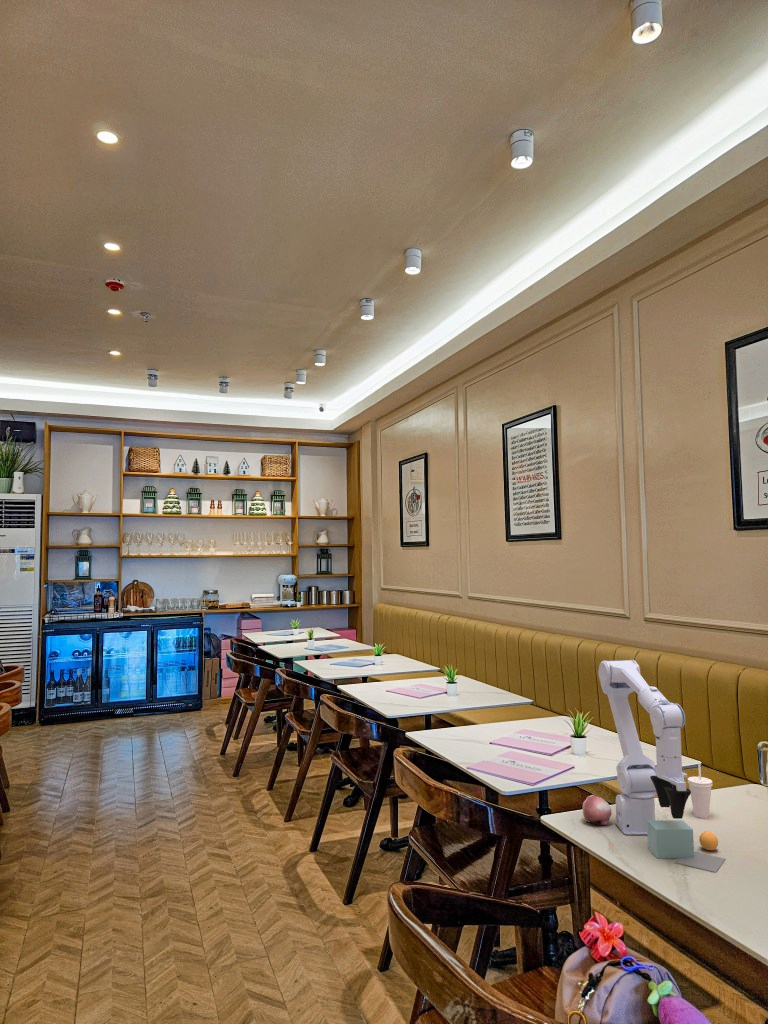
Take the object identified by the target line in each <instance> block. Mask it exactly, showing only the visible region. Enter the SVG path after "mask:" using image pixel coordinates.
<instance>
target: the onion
mask: <svg viewBox="0 0 768 1024" xmlns="http://www.w3.org/2000/svg"><path fill="white" fill-rule="evenodd" d="M582 815H583V818H584V819H585V821H586V822H588V823H590V824H594V825H595V824H596V825H600V826H602V825H603V826H611V825H610V824H611V823H610V818H611V816H612V807H611V804H609V803H608V802H607V801H606V800H605V799H604V798H602V797H601V796H597V795H595V794H591V795H588V796H587V797H586V799H585V800H584V801H583V803H582ZM609 823H610V824H609Z"/></svg>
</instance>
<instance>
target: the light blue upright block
mask: <svg viewBox="0 0 768 1024" xmlns="http://www.w3.org/2000/svg"><path fill="white" fill-rule="evenodd" d="M647 827H648V835H647V849H648V850H649V849H650V850H649V851H650V852H651V853H652V854H653V855H654V857H655V858H656V859H677V858H678V857H694V852H695V850H694V849H695V847H694V845H695V844H694V842H695V841H694V829H693V828H692V827H691V826H690V825H689V824H688V823H687V822H685V821H684V820H682V819H681V820H680V819H678V820H677V819H675V820H674V819H673V820H671V819H668V820H663V819H662V820H660V819H659V820H656V819H655V820H647Z"/></svg>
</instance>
